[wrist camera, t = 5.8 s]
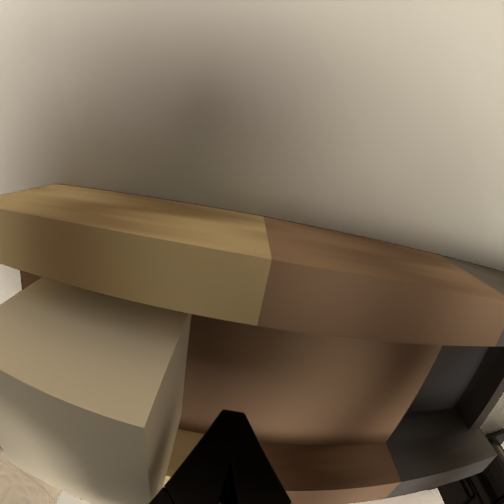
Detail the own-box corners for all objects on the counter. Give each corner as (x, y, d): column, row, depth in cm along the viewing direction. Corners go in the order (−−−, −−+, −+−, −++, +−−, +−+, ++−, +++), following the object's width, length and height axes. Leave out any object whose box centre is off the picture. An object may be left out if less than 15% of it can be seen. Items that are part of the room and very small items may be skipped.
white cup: (40, 486, 19) (11, 548, 9) (-10, 437, 17) (-51, 498, 7) (84, 494, 18) (54, 571, 8) (25, 440, 16) (-24, 520, 6)
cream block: (192, 303, 9) (143, 427, 4) (181, 414, 10) (154, 523, 6) (54, 269, 9) (-47, 340, 4) (67, 380, 10) (10, 462, 5)
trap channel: (521, 277, 12) (582, 314, 7) (450, 419, 14) (482, 471, 9) (56, 183, 10) (-32, 202, 6) (68, 377, 13) (24, 438, 8)
